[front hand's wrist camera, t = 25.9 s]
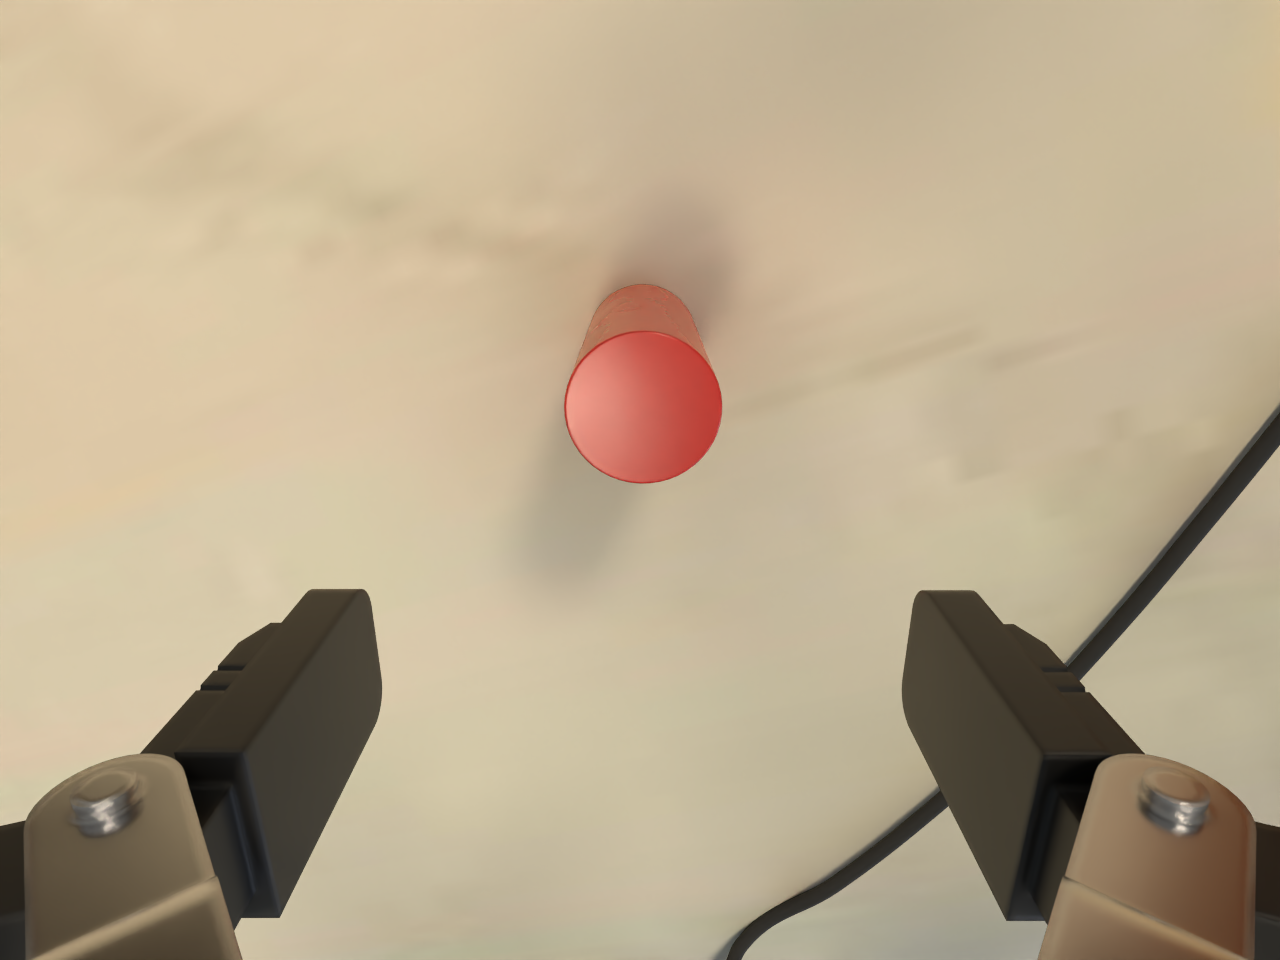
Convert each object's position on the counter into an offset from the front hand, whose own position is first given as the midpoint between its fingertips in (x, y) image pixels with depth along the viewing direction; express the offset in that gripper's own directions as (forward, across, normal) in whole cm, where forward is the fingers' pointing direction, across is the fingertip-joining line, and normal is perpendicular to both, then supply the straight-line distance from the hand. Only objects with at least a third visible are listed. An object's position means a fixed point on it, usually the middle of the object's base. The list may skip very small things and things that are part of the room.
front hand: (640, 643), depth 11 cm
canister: (+25, 0, 0) cm, 25 cm away
